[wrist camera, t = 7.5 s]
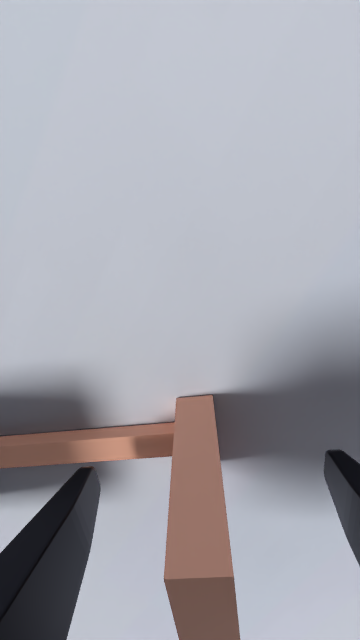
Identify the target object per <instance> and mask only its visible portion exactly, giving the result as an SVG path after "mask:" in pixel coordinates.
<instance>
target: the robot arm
mask: <svg viewBox="0 0 360 640" xmlns="http://www.w3.org/2000/svg"><path fill="white" fill-rule="evenodd" d="M324 476H325V480H326V482H327V485H328V488H329V491H330V494H331V496H332V499H333V502H334V505H335V507H336V510H337V513H338V516H339V518H340V521H341V524H342V527H343V529H344V532H345V535H346V537H347V540H348V542H349V544H350V546H351V549H352V551H353V553H354V555H355V557H356V559H357V561H358V563H359V566H360V464H359V463H358V462H357V461H355V460H354V459H353V458H351V457H350V456H349V455H348V454H346V453H345V452H344V451H342V450H327V451H326V453H325V462H324ZM99 497H100V483H99V480H98V477H97V473H96V470H95V468H94V467H92V466H89V467H81V468H79V469H78V470H77V471H76V472H75V473H74V474H73V476H72V477H71V478H70V479H69V480H68V481H67V482H66V483H65V484H64V485H63V486H62V487H61V488H60V490H59V491H58V492H57V493H56V494H55V495H54V496H53V497H52V498H51V499H50V500H49V501H48V502H47V503H46V505H45V506H44V507H43V508H42V509H41V510H40V511H39V512H38V513H37V514H36V515H35V516H34V517H33V519H32V520H31V521H30V522H29V523H28V524H27V525H26V526H25V527H24V528H23V529H22V530H21V531H20V533H19V534H18V535H17V536H16V537H15V538H14V539H13V540H12V541H11V542H10V543H9V544H8V545H7V546H6V548H5V549H4V550H3V551H2V552H1V553H0V640H66V639H67V636H68V632H69V628H70V624H71V621H72V617H73V613H74V609H75V606H76V602H77V598H78V595H79V591H80V587H81V583H82V580H83V576H84V572H85V568H86V565H87V561H88V557H89V553H90V549H91V544H92V538H93V532H94V527H95V521H96V515H97V509H98V503H99Z"/></svg>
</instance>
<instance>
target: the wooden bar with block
mask: <svg viewBox="0 0 360 640" xmlns="http://www.w3.org/2000/svg"><path fill="white" fill-rule="evenodd" d="M167 456H172V469H171V483H170V498H169V512H168V527H167V541H166V556H165V570H164V582H165V586H166V590H167V594H168V598H169V602H170V605H171V609H172V613H173V617H174V621H175V625H176V629H177V633H178V637H179V640H240V633H239V623H238V614H237V604H236V594H235V584H234V575H233V566H232V557H231V549H230V540H229V532H228V523H227V514H226V506H225V497H224V489H223V480H222V472H221V463H220V454H219V446H218V437H217V429H216V420H215V411H214V403H213V395H206V396H194V397H183V398H176V411H175V422H173V423H160V424H148V425H136V426H123V427H111V428H99V429H86V430H74V431H62V432H49V433H37V434H24V435H12V436H0V468H14V467H28V466H42V465H56V464H70V463H84V462H98V461H112V460H126V459H140V458H154V457H167Z"/></svg>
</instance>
